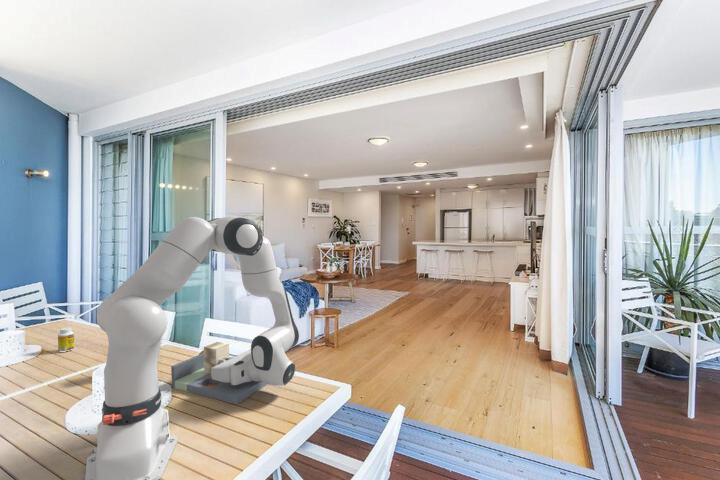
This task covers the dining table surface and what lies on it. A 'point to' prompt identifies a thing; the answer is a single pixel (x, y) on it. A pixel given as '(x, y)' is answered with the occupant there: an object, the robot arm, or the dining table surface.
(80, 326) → the dining table surface
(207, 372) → the birch block
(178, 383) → the pad
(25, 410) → the dining table surface
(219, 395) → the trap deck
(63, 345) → the supplement bottle
